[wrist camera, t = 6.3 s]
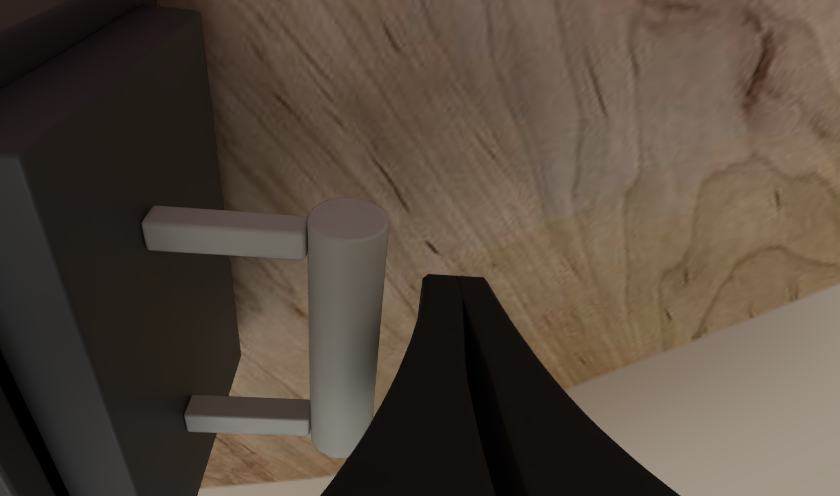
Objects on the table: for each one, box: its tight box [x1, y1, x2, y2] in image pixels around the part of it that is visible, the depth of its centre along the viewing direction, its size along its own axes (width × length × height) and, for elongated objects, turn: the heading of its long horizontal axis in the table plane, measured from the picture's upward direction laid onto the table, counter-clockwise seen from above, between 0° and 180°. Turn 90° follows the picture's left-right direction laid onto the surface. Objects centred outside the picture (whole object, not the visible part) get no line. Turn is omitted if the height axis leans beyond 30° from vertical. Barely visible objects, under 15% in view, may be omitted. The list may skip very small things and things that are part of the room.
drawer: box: [0, 5, 389, 496], centre depth 11 cm, size 16×10×7 cm, turn 84°
